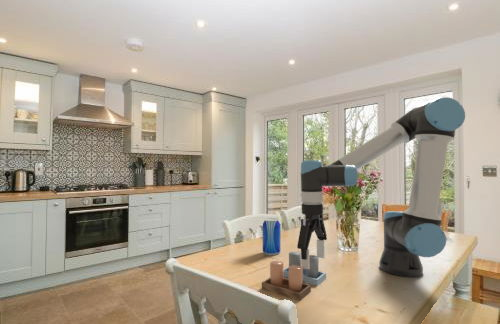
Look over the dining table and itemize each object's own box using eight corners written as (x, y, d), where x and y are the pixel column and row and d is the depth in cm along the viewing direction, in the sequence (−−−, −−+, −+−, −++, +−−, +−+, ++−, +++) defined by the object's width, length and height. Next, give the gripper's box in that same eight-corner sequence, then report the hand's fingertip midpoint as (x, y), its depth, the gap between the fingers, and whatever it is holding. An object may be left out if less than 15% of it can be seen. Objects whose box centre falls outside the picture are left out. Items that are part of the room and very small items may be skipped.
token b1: (302, 274, 104) (302, 253, 104) (297, 278, 100) (297, 256, 100) (292, 271, 106) (292, 250, 107) (286, 275, 103) (286, 253, 103)
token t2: (304, 292, 89) (305, 267, 89) (297, 297, 86) (297, 271, 86) (293, 288, 92) (293, 264, 92) (285, 292, 89) (286, 267, 89)
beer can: (279, 257, 126) (279, 221, 126) (261, 255, 127) (261, 220, 128) (281, 251, 134) (281, 218, 134) (264, 250, 136) (264, 217, 136)
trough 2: (326, 279, 100) (326, 272, 100) (317, 287, 94) (317, 279, 94) (291, 271, 109) (291, 264, 109) (281, 277, 102) (281, 270, 102)
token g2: (320, 279, 100) (320, 256, 100) (315, 283, 96) (315, 259, 96) (309, 276, 102) (309, 254, 103) (303, 279, 99) (303, 257, 99)
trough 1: (310, 293, 90) (310, 285, 90) (300, 302, 84) (300, 294, 84) (273, 282, 98) (273, 275, 98) (261, 290, 92) (261, 282, 92)
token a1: (285, 286, 93) (285, 262, 94) (279, 291, 90) (279, 266, 90) (274, 283, 96) (274, 260, 96) (267, 287, 92) (267, 263, 93)
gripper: (316, 198, 112) (317, 251, 112) (286, 206, 92) (287, 271, 92) (334, 199, 108) (335, 255, 107) (307, 208, 88) (308, 276, 87)
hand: (313, 262), depth 100 cm, fingers open, 13 cm apart
